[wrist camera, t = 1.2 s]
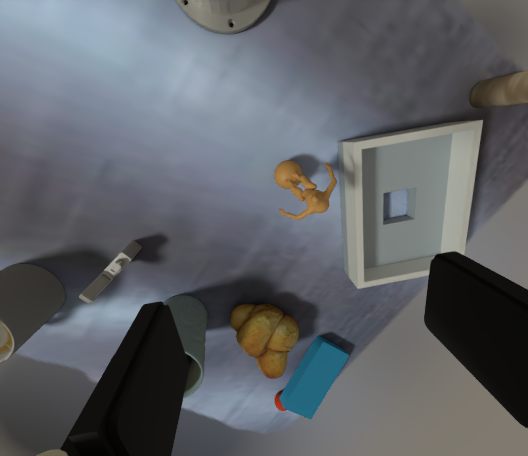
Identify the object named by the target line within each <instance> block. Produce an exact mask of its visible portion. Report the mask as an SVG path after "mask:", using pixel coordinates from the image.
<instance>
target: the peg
mask: <svg viewBox="0 0 528 456" xmlns="http://www.w3.org/2000/svg"><path fill="white" fill-rule="evenodd" d="M469 100H470V104H471V105H472V106H473V107H474V108H486V107H495V106H503V105H512V104H521V103H528V71H523V72H519V73H515V74H510V75H506V76H501V77H497V78H492V79H488V80H484V81H480V82H478V83H477V84H476V85H475V86H474V87H473V89H472V90H471V93H470V97H469Z"/></svg>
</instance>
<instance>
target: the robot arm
mask: <svg viewBox="0 0 528 456" xmlns="http://www.w3.org/2000/svg"><path fill="white" fill-rule="evenodd" d="M176 1H177V3H178V4H179V6H180V7H181V9H182V10H183V11H184V12H185V14H186V15H187V16H188V17H189V18H190V19H191V20H192V21H193V22H195V23H196V24H197V25H199V26H200V27H202V28H204V29H205V30H208V31H211V32H214V33H218V34H235V33H238V32H241V31H244V30H246V29H247V28H249V27H251V26H252V25H254V24H255V23H256V22H257V21H258V20H259V19H260V18H261V16H262V15H263V14H264V12H265V11H266V9H267V7H268V5H269V3H270V1H271V0H176ZM185 2H188V4H187V5H184V3H185ZM230 24H233V25H234V26H233V27H230V26H229V25H230ZM424 321H425V325H426V327H427V328H428V329H429V330H430V331H431V333H433V335H434V336H435V337H436V338H437V339H438V340H439V341H440V342H441V343H442V344H443V345H444V346H445V347H446V348H447V349H448V350H449V351H450V352H451V353H452V354H453V355H454V356H455V357H456V358H457V359H458V360H459V361H460V362H461V363H462V364H463V365H464V366H465V367H466V369H467V370H468V371H469V372H470V373H471V374H472V375H473V376H474V377H475V378H476V379H477V380H478V381H479V382H480V383H481V384H482V385H483V386H484V387H485V388H486V389H487V390H488V391H489V392H490V393H491V394H492V395H493V396H494V397H495V399H497V401H498V402H499V403H500V404H501V405H502V406H503V407H504V408H505V409H506V410H507V411H508V412H509V413H510V414H511V415H512V416H513V417H514V418H515V419H516V420H517V421H518V422H519V423H520V424H521V425H523V426H524V427H526V428H528V290H527V289H525V288H523V287H522V286H520V285H518V284H516V283H514V282H512V281H510V280H509V279H507V278H505V277H503V276H501V275H499V274H497V273H496V272H494V271H492V270H490V269H488V268H486V267H484V266H482V265H480V264H479V263H477V262H475V261H473V260H471V259H470V258H468V257H466V256H464V255H462V254H460V253H458V252H456V251H451V252H446V253H440V254H437V255H435V257H434V259H432V260H431V263H430V271H429V280H428V289H427V297H426V306H425V315H424ZM188 373H189V364H188V360H187V357H186V354H185V351H184V348H183V345H182V342H181V339H180V336H179V333H178V330H177V327H176V324H175V321H174V318H173V315H172V312H171V309H170V307H169V305H164V303H163V302H155V303H149V304H144V305H143V306H142V307H141V309H140V311H139V313H138V314H137V316H136V318H135V320H134V321H133V323H132V325H131V327H130V329H129V330H128V332H127V334H126V336H125V337H124V339H123V341H122V343H121V344H120V346H119V348H118V350H117V352H116V353H115V355H114V356H113V358H112V359H111V361H110V363H109V365H108V366H107V368H106V370H105V372H104V373H103V375H102V377H101V379H100V380H99V382H98V384H97V386H96V387H95V389H94V391H93V393H92V394H91V396H90V398H89V400H88V401H87V403H86V405H85V407H84V408H83V410H82V412H81V414H80V416H79V418H78V419H77V421H76V423H75V424H74V426H73V428H72V430H71V431H70V433H69V435H68V437H67V438H66V440H65V442H64V444H63V446H62V447H61V449H60V450H59V449H58V450H48V451H46V452H43V453H41V454H38V455H36V456H171V452H172V448H173V443H174V439H175V434H176V429H177V424H178V420H179V415H180V411H181V406H182V401H183V397H184V392H185V387H186V382H187V378H188Z"/></svg>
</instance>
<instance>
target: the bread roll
mask: <svg viewBox="0 0 528 456" xmlns="http://www.w3.org/2000/svg"><path fill="white" fill-rule="evenodd" d="M231 326H232V327H233V329H235V331H236V332H237V335H236V337H237V341H238V343H239V345H240V346H241V347H242V349H243V350H244V351H245V352H246V353H247V354H248V355H249V356H252V357H254V358H256V359H257V360H256V361H257V364H258V366H259V368H260V370H261V371H262V373H263V374H264V375H265V376H266V377H268V378H271V379H275V378H279V377H280V376H282V375H283V373H284V371H285V369H286V365H287V352H289V351H290V350H291V349H292V348H293V346H294V345H295V344H296V342H297V340H298V337H299V329H298V325H297V323H296V321H295V320H294V319H293V317H292V316H290V315H286V314H284V313H283V312H282V311H281V310H280V309H278V308H277V307H274V306H273V305H272V304H261V305H254V304H243V305H239V306H237V307H235V308H234V309H233V310H232V312H231Z"/></svg>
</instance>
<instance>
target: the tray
mask: <svg viewBox="0 0 528 456" xmlns="http://www.w3.org/2000/svg"><path fill="white" fill-rule="evenodd" d="M482 125H483V120H474V121H458V122H447V123H441V124H436V125H430V126H424V127H418V128H413V129H407V130H401V131H395V132H390V133H384V134H378V135H372V136H367V137H361V138H355V139H350V140H344V141H338V158H339V177H340V197H341V216H342V235H343V255H344V271H345V273H346V274H347V275H348V276H349V278H350V279H351V280H352V282H353V283H354V284H355V286H356V287H357V288H358V289H360V288H365V287H370V286H375V285H381V284H386V283H391V282H396V281H401V280H407V279H412V278H417V277H422V276H427V275H429V271H430V263H431V260H432V259H434V257H435V255H437V254H440V253H446V252H451V251H456V252H458V253H460V254H462V255H464V252H465V245H466V238H467V231H468V224H469V217H470V210H471V202H472V195H473V188H474V181H475V174H476V167H477V160H478V153H479V146H480V139H481V132H482ZM404 189H408V204H407V216H401V217H396V218H390V219H385V220H383V193H387V192H393V191H398V190H404Z"/></svg>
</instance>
